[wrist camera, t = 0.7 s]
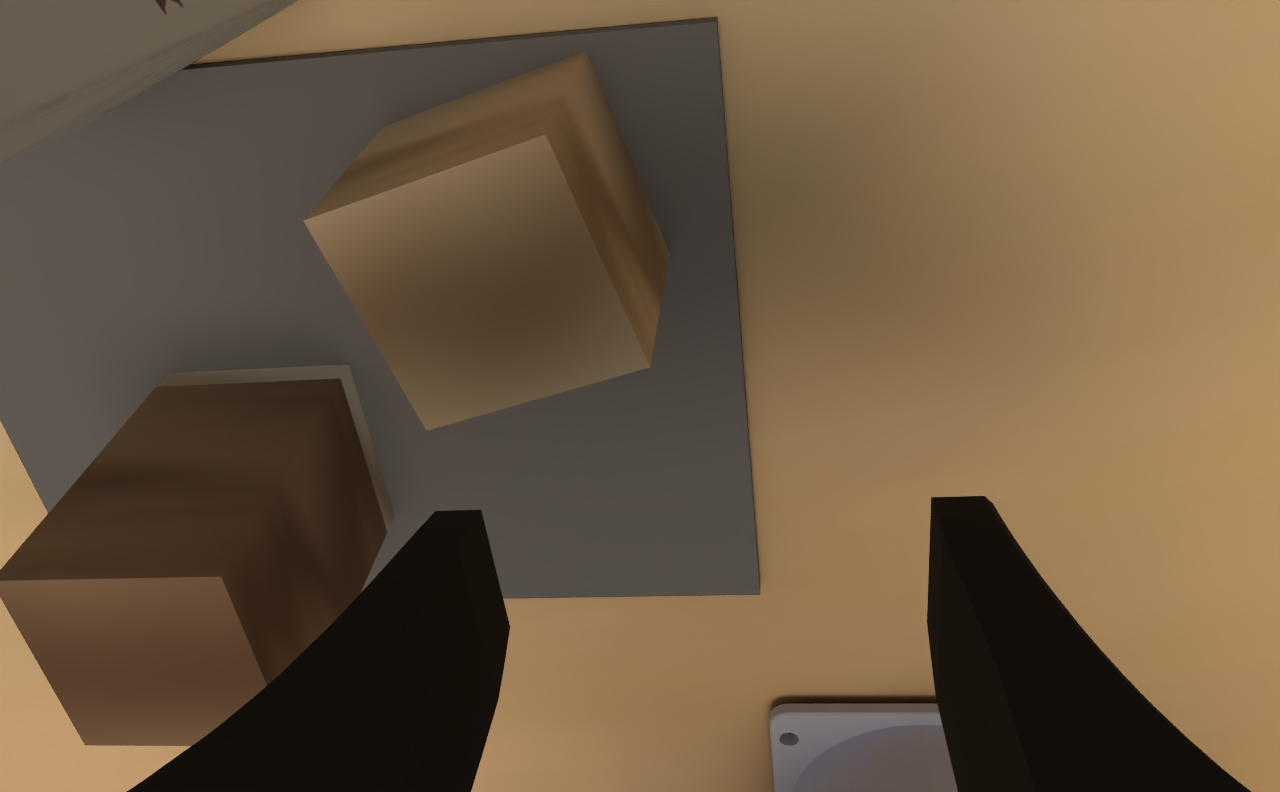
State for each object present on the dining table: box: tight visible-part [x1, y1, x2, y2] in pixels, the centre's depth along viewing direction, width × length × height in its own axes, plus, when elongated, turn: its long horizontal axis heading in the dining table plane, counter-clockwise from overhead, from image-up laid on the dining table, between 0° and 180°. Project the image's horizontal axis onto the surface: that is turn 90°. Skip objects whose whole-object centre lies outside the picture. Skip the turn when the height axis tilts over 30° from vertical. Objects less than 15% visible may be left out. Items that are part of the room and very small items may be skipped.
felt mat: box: [0, 17, 760, 598], centre depth 25 cm, size 14×18×1 cm
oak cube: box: [304, 51, 670, 431], centre depth 21 cm, size 4×4×4 cm
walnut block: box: [0, 364, 395, 746], centre depth 24 cm, size 4×4×7 cm
